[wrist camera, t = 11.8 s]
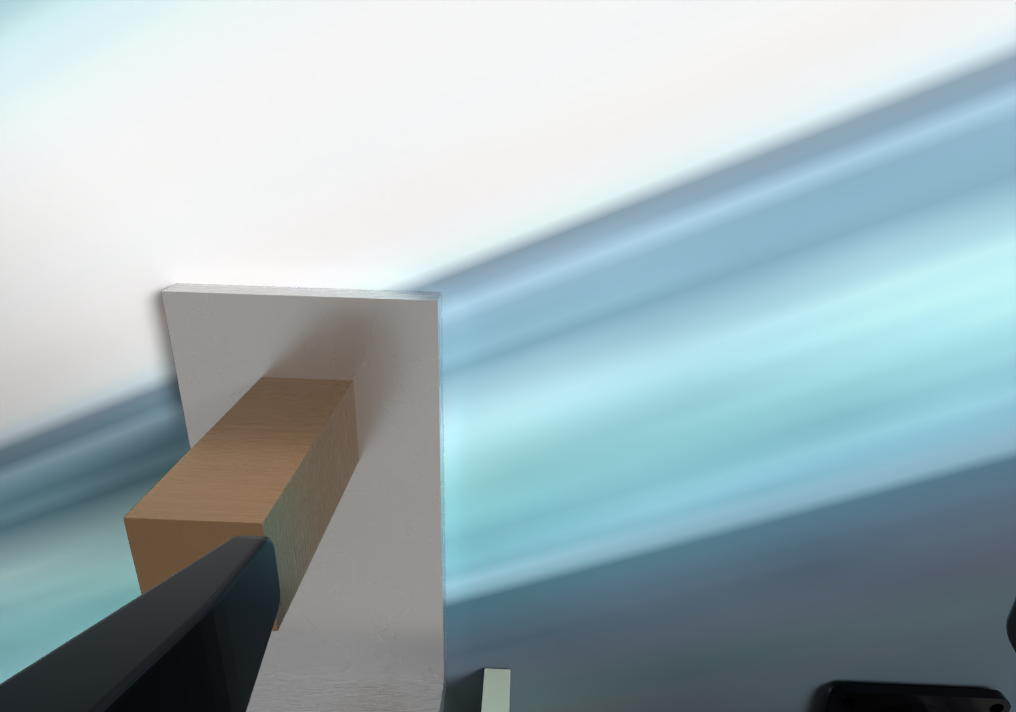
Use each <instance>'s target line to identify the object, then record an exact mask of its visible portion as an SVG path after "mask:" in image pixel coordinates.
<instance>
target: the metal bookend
mask: <svg viewBox="0 0 1016 712" xmlns="http://www.w3.org/2000/svg"><path fill="white" fill-rule="evenodd" d="M161 292H162V298H163V303H164V308H165V314H166V319H167V325H168V330H169V335H170V341H171V346H172V352H173V357H174V363H175V368H176V373H177V379H178V384H179V390H180V395H181V400H182V406H183V411H184V417H185V422H186V427H187V433H188V438H189V444H190V450H189V451H188V452H187V453H186V454H185V455H184V456H183V457H182V458H181V459H180V460H179V461H178V463H177V464H176V465H175V466H174V467H173V468H172V469H171V470H170V471H169V472H168V473H167V474H166V475H165V476H164V477H163V478H162V479H161V480H160V481H159V482H158V483H157V484H156V485H155V486H154V487H153V488H152V489H151V490H150V491H149V492H148V493H147V494H146V495H145V496H144V497H143V498H142V499H141V500H140V501H139V502H138V503H137V504H136V505H135V506H134V507H133V508H132V509H131V510H130V511H129V512H128V513H127V514H126V515H125V516H124V517H123V519H124V523H125V527H126V531H127V535H128V539H129V543H130V548H131V552H132V556H133V560H134V564H135V568H136V572H137V577H138V581H139V585H140V589H141V593H142V594H144V593H145V592H147V591H148V590H150V589H152V588H153V587H155V586H156V585H158V584H160V583H161V582H163V581H164V580H166V579H167V578H169V577H171V576H172V575H174V574H175V573H177V572H179V571H180V570H182V569H183V568H185V567H186V566H188V565H190V564H191V563H193V562H194V561H196V560H198V559H199V558H201V557H202V556H204V555H205V554H207V553H209V552H210V551H212V550H213V549H215V548H217V547H218V546H220V545H221V544H223V543H224V542H226V541H228V540H229V539H231V538H233V537H235V536H238V535H251V536H267V537H269V538H270V539H271V540H272V541H273V543H274V547H275V553H276V560H277V567H278V575H279V582H280V590H281V598H280V605H279V610H278V613H277V616H276V620H275V623H274V626H273V629H272V632H271V635H270V638H269V642H268V645H267V648H266V651H265V654H264V657H263V660H262V663H261V667H260V670H259V673H258V676H257V679H256V682H255V685H254V689H253V692H252V695H251V698H250V701H249V704H248V707H247V711H246V712H443V709H444V702H445V695H446V688H447V644H446V571H445V497H444V424H443V350H442V292H424V291H394V290H364V289H333V288H303V287H273V286H243V285H213V284H182V283H177V284H175V285H173V286H171V287H169V288H167V289H165V290H163V291H161Z"/></svg>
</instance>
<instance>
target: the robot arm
mask: <svg viewBox="0 0 1016 712" xmlns="http://www.w3.org/2000/svg"><path fill="white" fill-rule="evenodd" d="M280 598H281V590H280V582H279V575H278V567H277V560H276V553H275V547H274V543H273V541H272V540H271V539H270V538H269V537H267V536H251V535H238V536H235V537H233V538H231V539H229V540H228V541H226V542H224V543H223V544H221V545H220V546H218V547H217V548H215V549H213V550H212V551H210V552H209V553H207V554H205V555H204V556H202V557H201V558H199V559H198V560H196V561H194V562H193V563H191V564H190V565H188V566H186V567H185V568H183V569H182V570H180V571H179V572H177V573H175V574H174V575H172V576H171V577H169V578H167V579H166V580H164V581H163V582H161V583H160V584H158V585H156V586H155V587H153V588H152V589H150V590H148V591H147V592H145V593H144V594H142V595H141V596H139V597H137V598H136V599H134V600H133V601H131V602H129V603H128V604H126V605H125V606H123V607H122V608H120V609H118V610H117V611H115V612H114V613H112V614H110V615H109V616H107V617H106V618H104V619H103V620H101V621H99V622H98V623H96V624H95V625H93V626H91V627H90V628H88V629H87V630H85V631H84V632H82V633H80V634H79V635H77V636H76V637H74V638H72V639H71V640H69V641H68V642H66V643H65V644H63V645H61V646H60V647H58V648H57V649H55V650H53V651H52V652H50V653H49V654H47V655H46V656H44V657H42V658H41V659H39V660H38V661H36V662H34V663H33V664H31V665H30V666H28V667H27V668H25V669H23V670H22V671H20V672H19V673H17V674H15V675H14V676H12V677H11V678H9V679H8V680H6V681H4V682H3V683H1V684H0V712H246V711H247V707H248V704H249V701H250V698H251V695H252V692H253V689H254V685H255V682H256V679H257V676H258V673H259V670H260V667H261V663H262V660H263V657H264V654H265V651H266V648H267V645H268V642H269V638H270V635H271V632H272V629H273V626H274V623H275V620H276V616H277V613H278V610H279V605H280ZM1006 629H1007V634H1008V638H1009V641H1010V643H1011V645H1012V647H1013V648H1014V650H1015V652H1016V598H1015V601H1014V603H1013V605H1012V608H1011V610H1010V612H1009V615H1008V618H1007V623H1006ZM1010 706H1011V705H1010V703H1009V701H1008V700H1007V699H1006V698H1005V696H1004V695H1003V694H1002V693H1001V692H1000V691H998V690H990V689H967V688H943V687H920V686H897V685H874V684H850V683H845V684H840V685H837V686H835V687H834V688H833V689H832V691H831V692H830V695H829V699H828V702H827V706H826V709H825V712H1009V710H1010Z"/></svg>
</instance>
